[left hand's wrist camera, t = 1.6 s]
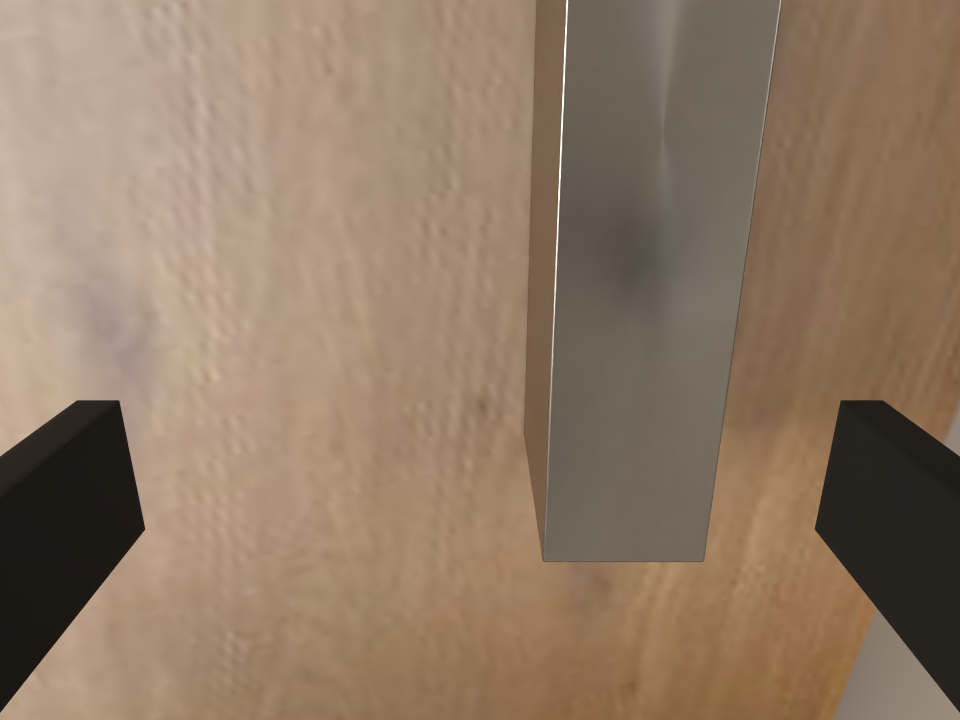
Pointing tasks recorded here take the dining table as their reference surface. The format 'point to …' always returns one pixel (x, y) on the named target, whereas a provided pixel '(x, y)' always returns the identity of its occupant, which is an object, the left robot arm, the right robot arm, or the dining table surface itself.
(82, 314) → the dining table surface
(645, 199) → the bar
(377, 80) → the dining table surface
